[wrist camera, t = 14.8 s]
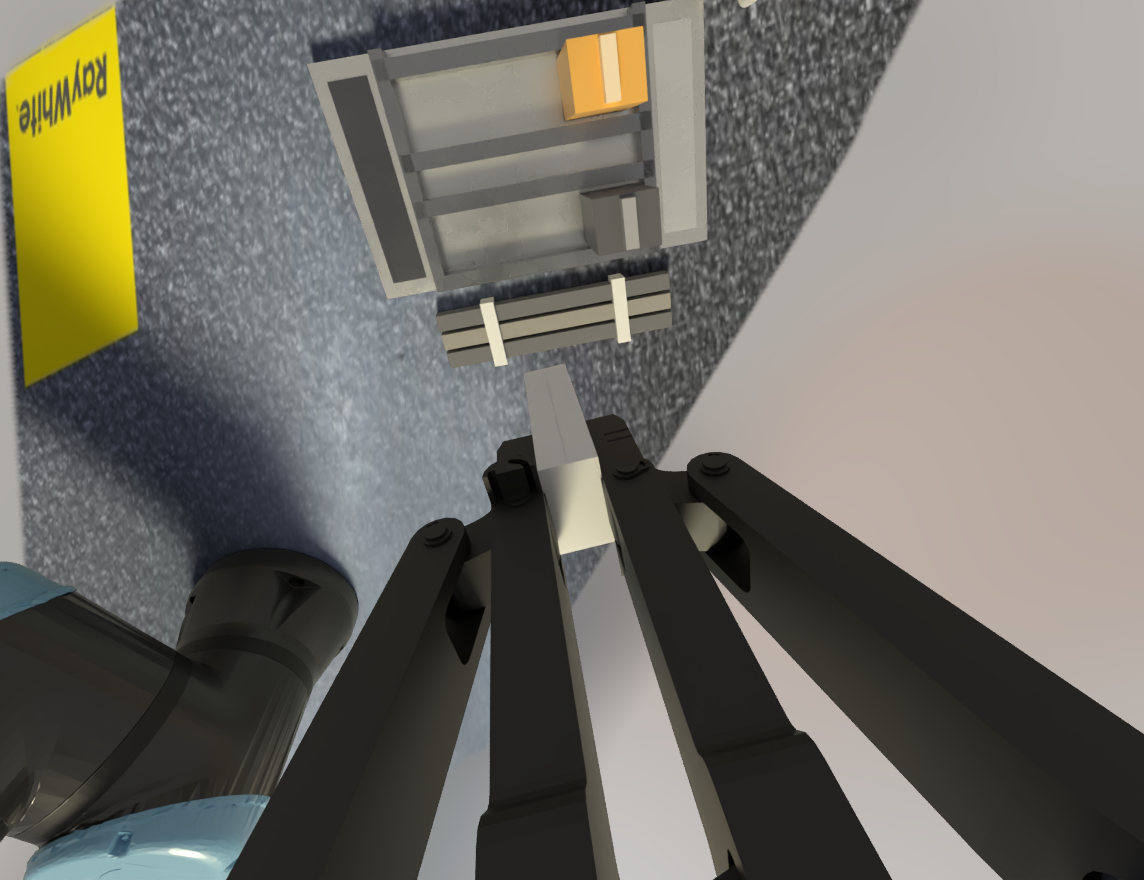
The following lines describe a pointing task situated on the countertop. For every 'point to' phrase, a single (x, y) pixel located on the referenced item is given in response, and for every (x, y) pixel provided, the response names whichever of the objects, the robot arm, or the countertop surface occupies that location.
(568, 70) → the toggle
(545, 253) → the panel
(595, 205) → the toggle
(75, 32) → the countertop surface
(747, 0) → the container
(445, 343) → the strapped plank bundle
